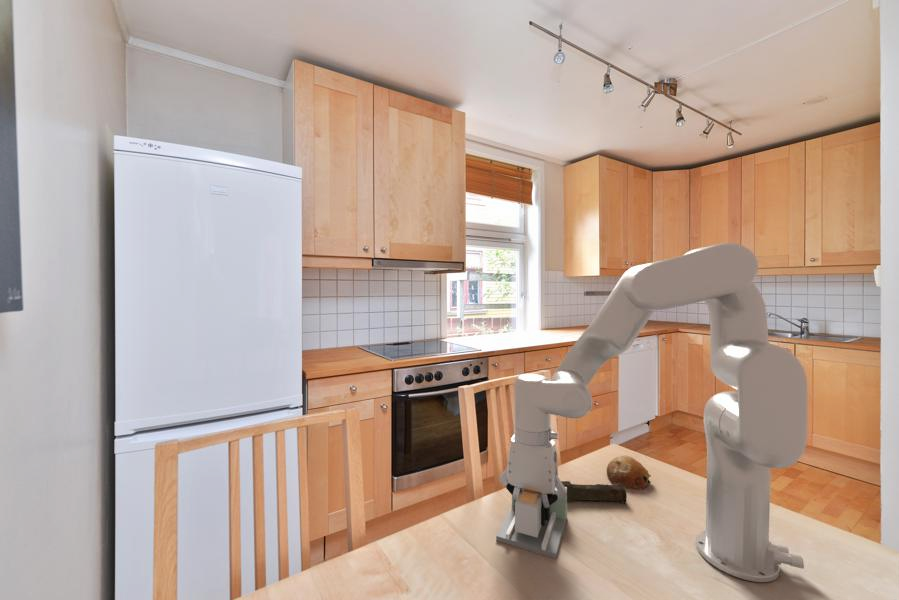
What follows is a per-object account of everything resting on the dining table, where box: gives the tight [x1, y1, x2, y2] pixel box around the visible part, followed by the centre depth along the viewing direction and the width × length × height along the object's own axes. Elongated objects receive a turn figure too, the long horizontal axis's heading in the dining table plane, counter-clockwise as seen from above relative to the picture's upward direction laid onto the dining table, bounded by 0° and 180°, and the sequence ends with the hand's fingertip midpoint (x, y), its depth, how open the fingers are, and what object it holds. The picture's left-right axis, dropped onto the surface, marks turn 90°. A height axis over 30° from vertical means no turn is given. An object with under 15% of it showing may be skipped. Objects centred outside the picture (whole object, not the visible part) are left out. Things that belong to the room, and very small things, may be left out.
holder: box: [515, 488, 543, 537], centre depth 79 cm, size 4×10×7 cm, turn 154°
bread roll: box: [606, 455, 652, 490], centre depth 100 cm, size 10×10×8 cm
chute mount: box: [495, 487, 568, 559], centre depth 80 cm, size 12×14×7 cm
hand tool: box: [560, 480, 627, 504], centre depth 91 cm, size 19×4×5 cm, turn 86°
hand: (531, 518), depth 79 cm, fingers closed on holder, 4 cm apart
